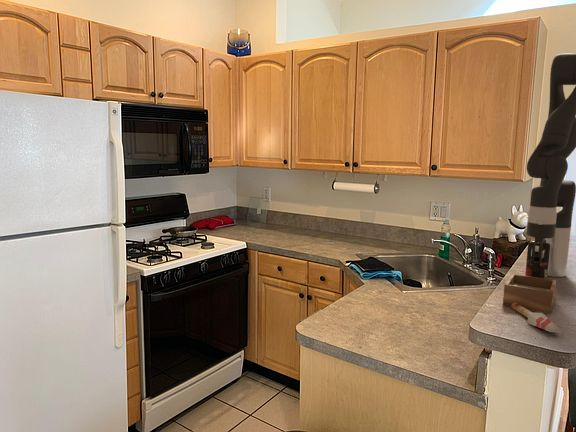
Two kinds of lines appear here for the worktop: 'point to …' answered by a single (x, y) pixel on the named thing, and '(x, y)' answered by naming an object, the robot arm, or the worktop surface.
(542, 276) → the deodorant
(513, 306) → the paintbrush
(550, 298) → the walled box
